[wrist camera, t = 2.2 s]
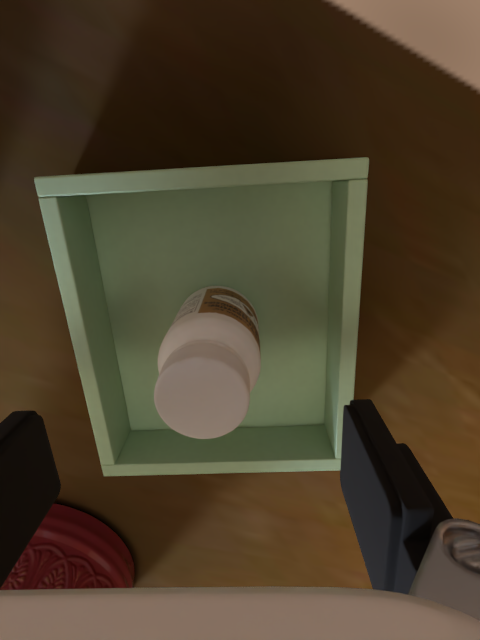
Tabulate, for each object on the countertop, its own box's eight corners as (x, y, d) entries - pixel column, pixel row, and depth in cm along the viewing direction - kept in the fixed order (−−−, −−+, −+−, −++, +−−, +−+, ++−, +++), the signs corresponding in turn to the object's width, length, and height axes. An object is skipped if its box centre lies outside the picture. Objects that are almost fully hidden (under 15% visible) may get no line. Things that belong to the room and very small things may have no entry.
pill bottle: (274, 322, 20) (289, 401, 13) (219, 372, 21) (204, 470, 14) (217, 266, 19) (197, 318, 12) (162, 321, 20) (113, 399, 13)
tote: (70, 178, 18) (32, 176, 15) (347, 161, 17) (370, 156, 14) (122, 437, 23) (103, 476, 20) (335, 430, 23) (349, 470, 20)
